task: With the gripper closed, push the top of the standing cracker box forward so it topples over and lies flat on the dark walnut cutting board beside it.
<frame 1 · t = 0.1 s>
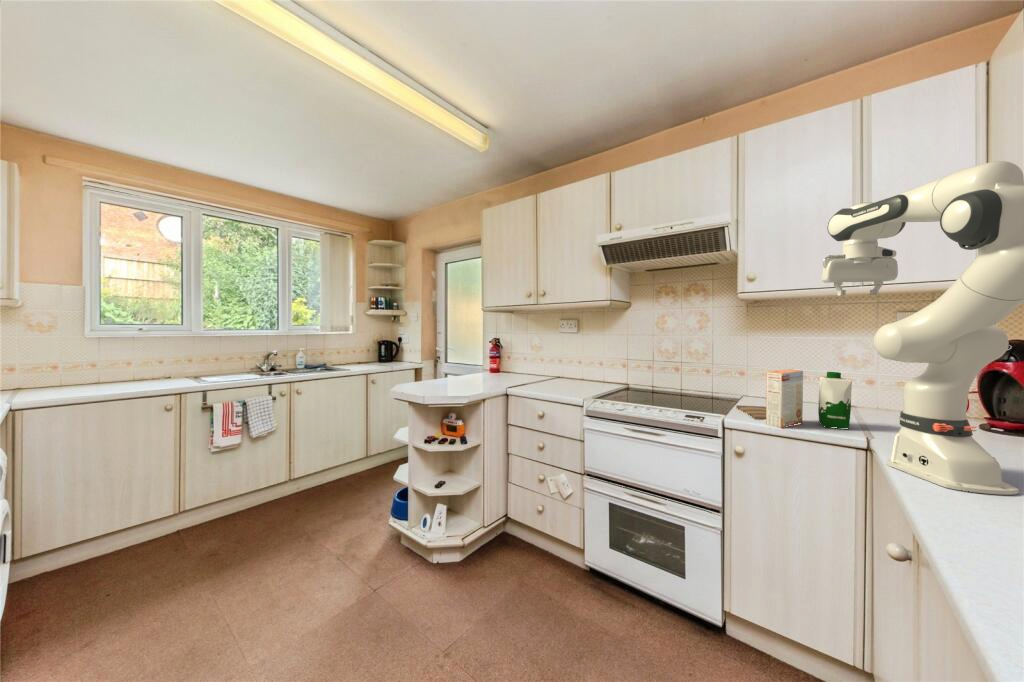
hand: (857, 295, 126), 48 cm above the worktop, tool pointing down, fingers open, 8 cm apart
cracker box: (783, 425, 142), on the worktop, touching walnut board
milk carton: (833, 427, 139), on the worktop
walnut board: (765, 414, 158), on the worktop
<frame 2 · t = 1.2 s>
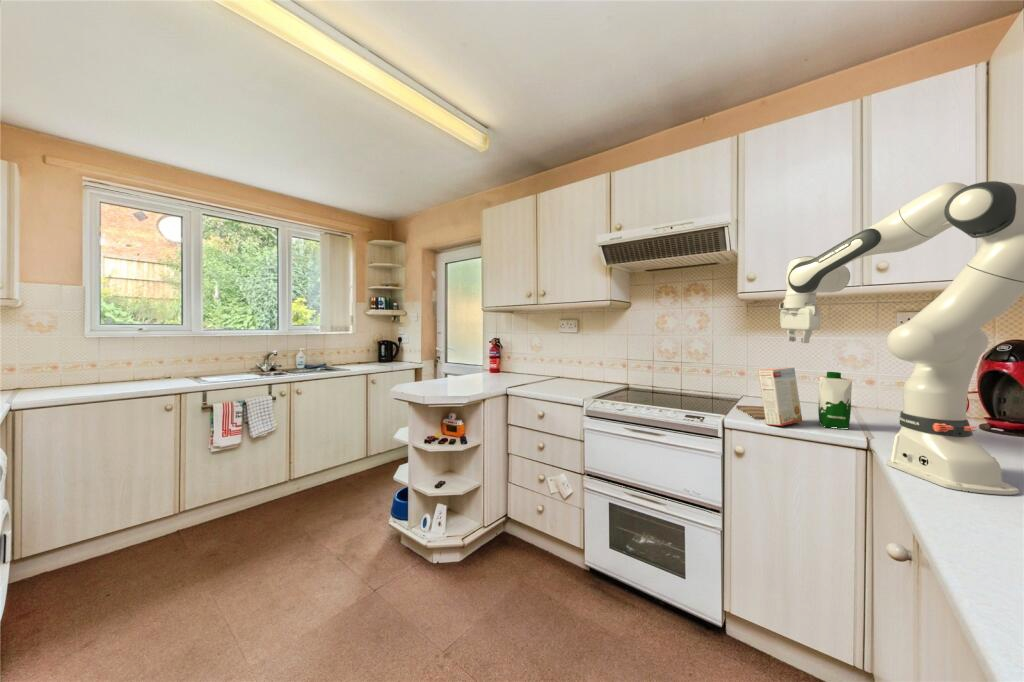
hand: (798, 342, 134), 32 cm above the worktop, tool pointing down, fingers open, 8 cm apart
cracker box: (783, 423, 142), on the worktop
everything else where it was.
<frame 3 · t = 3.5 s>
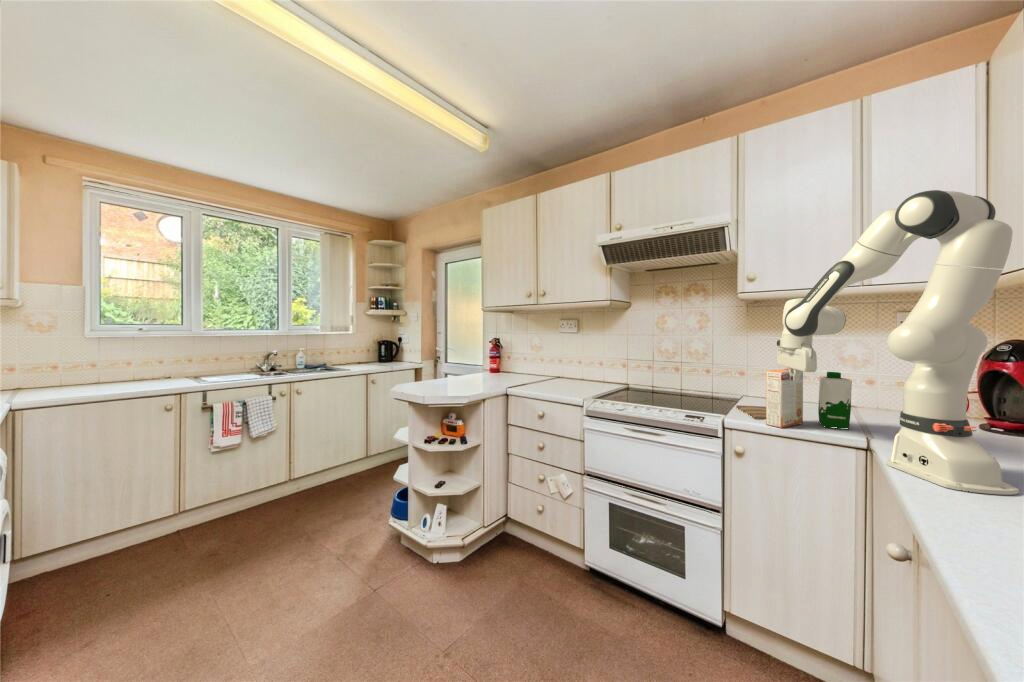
hand: (794, 381, 135), 18 cm above the worktop, tool pointing down, fingers closed
cracker box: (783, 425, 142), on the worktop, touching gripper
everything else where it was.
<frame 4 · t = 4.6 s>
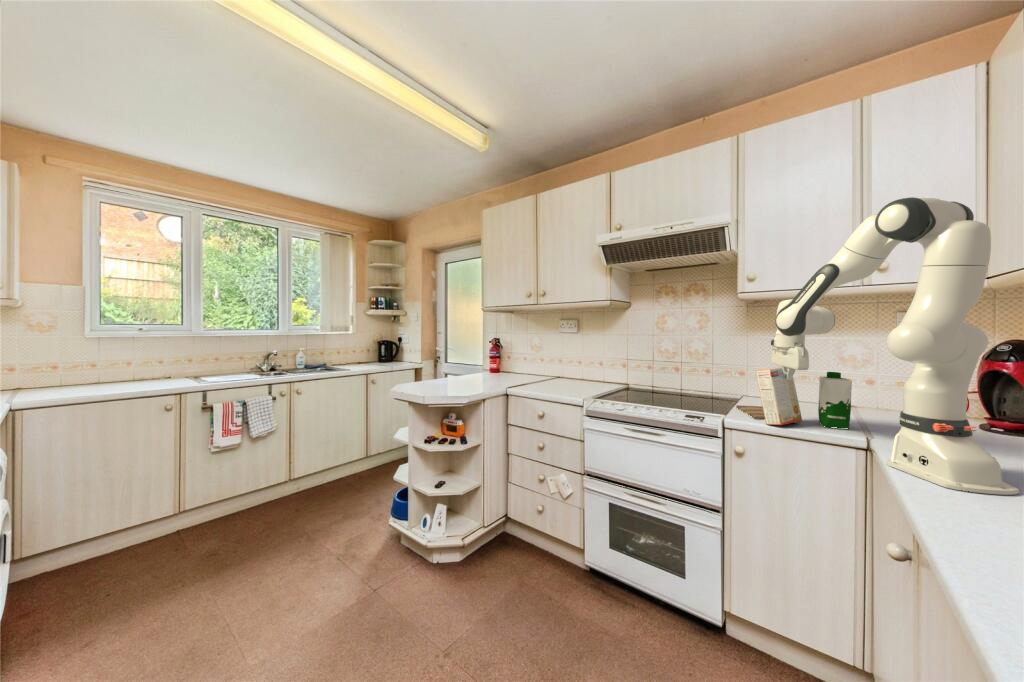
hand: (788, 379, 140), 17 cm above the worktop, tool pointing down, fingers closed
cracker box: (783, 423, 142), on the worktop
everything else where it was.
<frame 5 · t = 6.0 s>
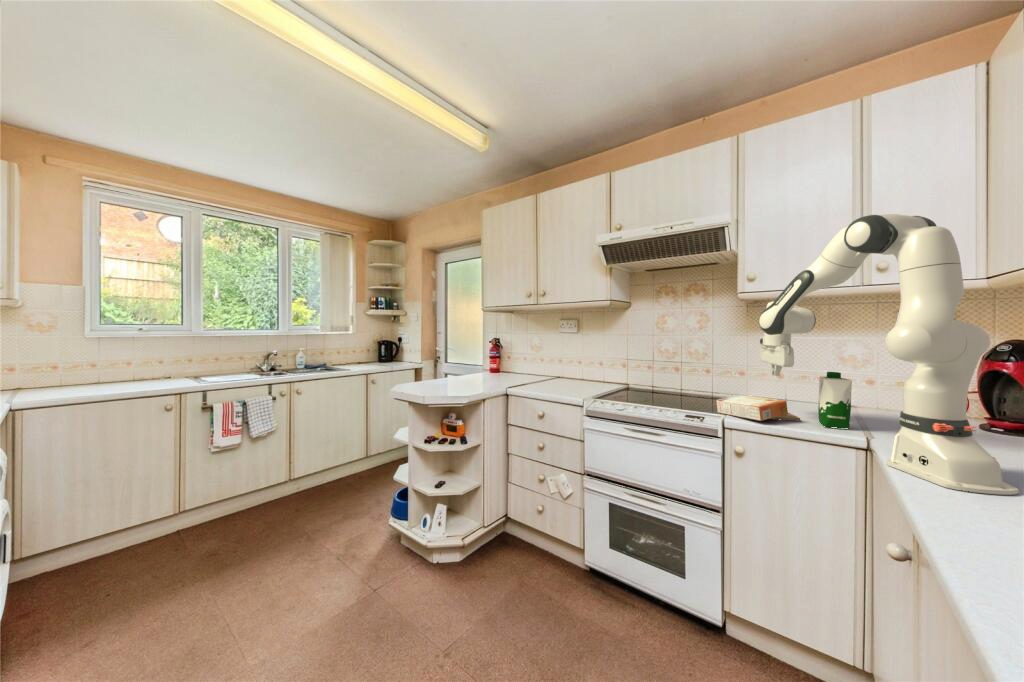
hand: (775, 375, 149), 17 cm above the worktop, tool pointing down, fingers closed
cracker box: (774, 411, 143), point 5 cm above the worktop, touching walnut board
everything else where it was.
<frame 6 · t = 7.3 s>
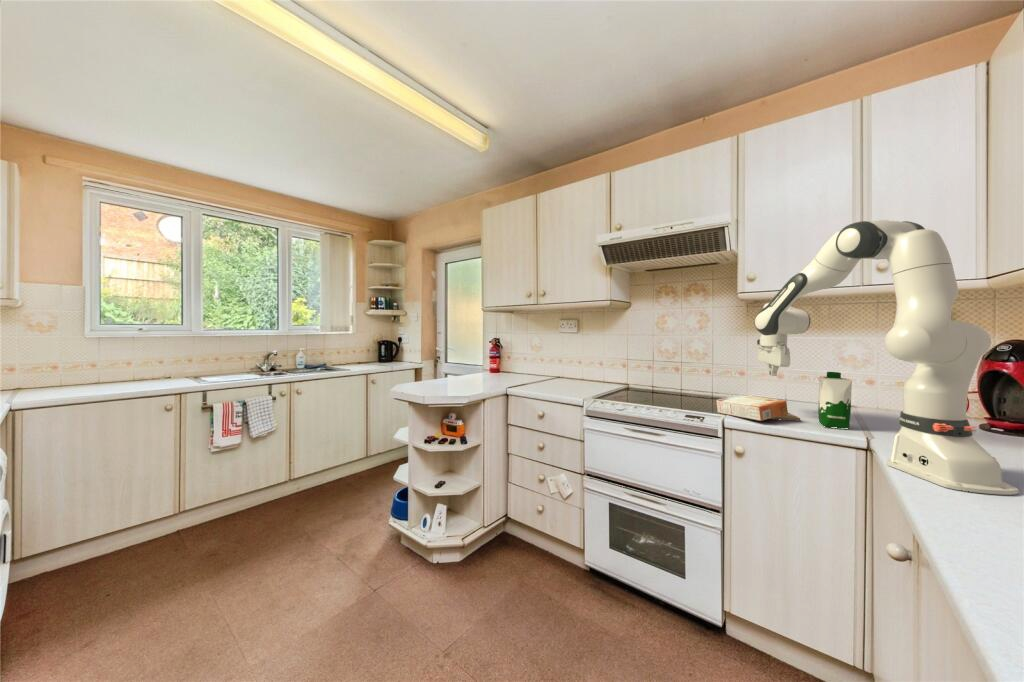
hand: (772, 375, 152), 17 cm above the worktop, tool pointing down, fingers closed
nothing on the worktop moved.
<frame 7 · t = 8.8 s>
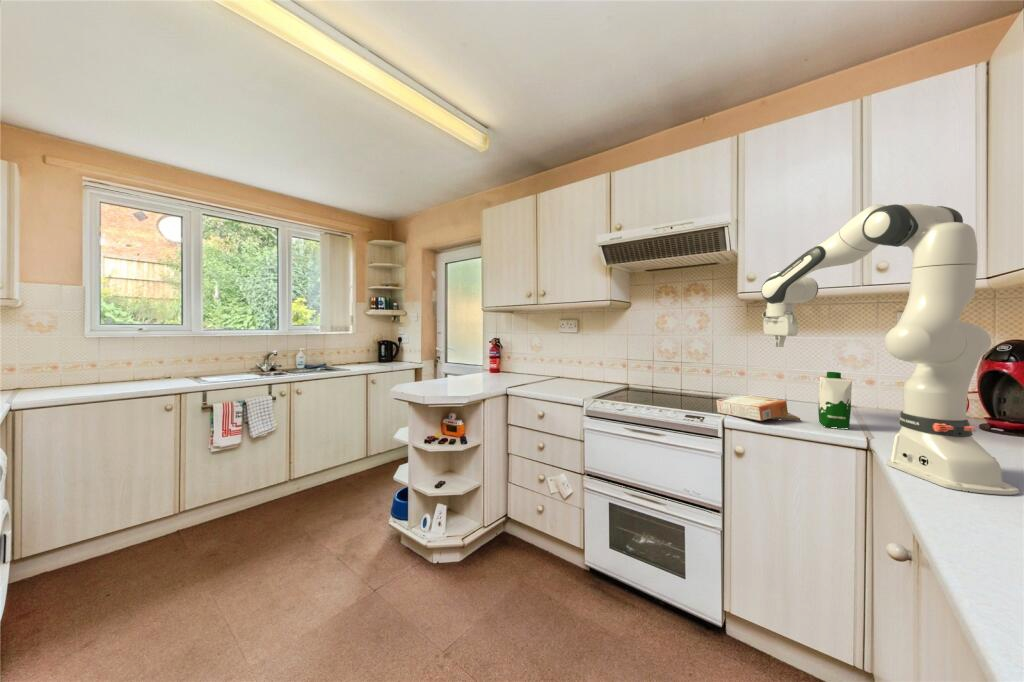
hand: (779, 346, 150), 29 cm above the worktop, tool pointing down, fingers closed
nothing on the worktop moved.
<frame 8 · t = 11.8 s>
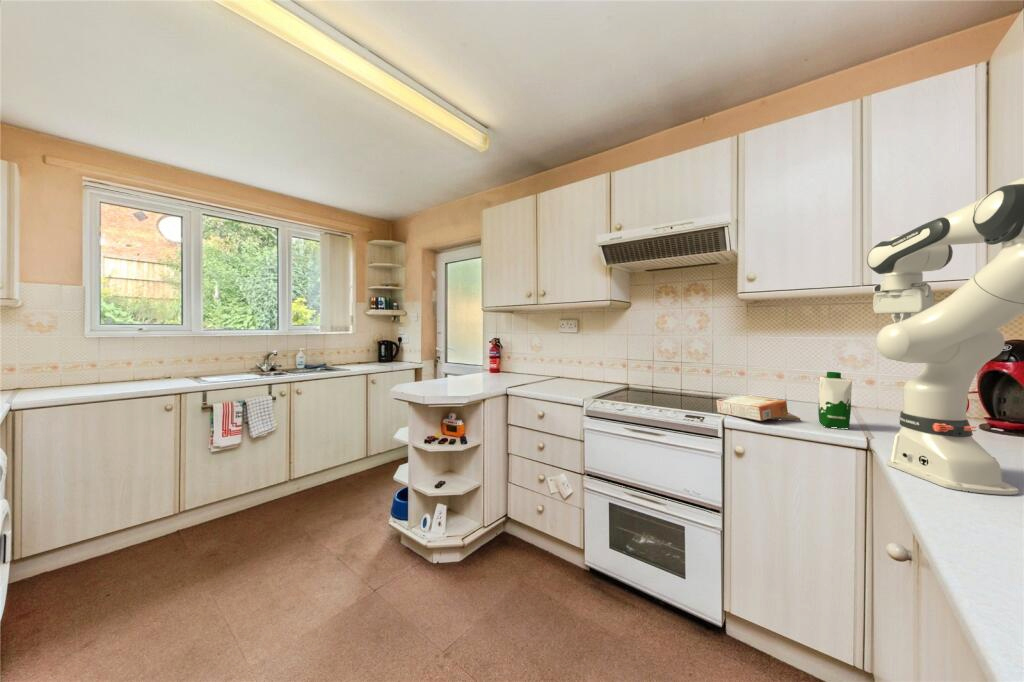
hand: (900, 327, 124), 37 cm above the worktop, tool pointing down, fingers closed
nothing on the worktop moved.
at the end: cracker box tilted 93°; cracker box touching worktop, walnut board; the gripper is holding nothing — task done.
